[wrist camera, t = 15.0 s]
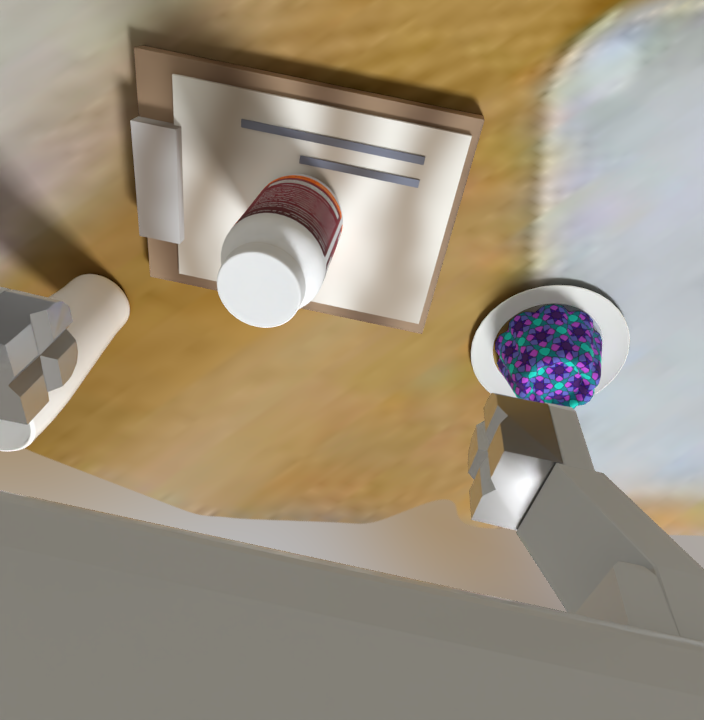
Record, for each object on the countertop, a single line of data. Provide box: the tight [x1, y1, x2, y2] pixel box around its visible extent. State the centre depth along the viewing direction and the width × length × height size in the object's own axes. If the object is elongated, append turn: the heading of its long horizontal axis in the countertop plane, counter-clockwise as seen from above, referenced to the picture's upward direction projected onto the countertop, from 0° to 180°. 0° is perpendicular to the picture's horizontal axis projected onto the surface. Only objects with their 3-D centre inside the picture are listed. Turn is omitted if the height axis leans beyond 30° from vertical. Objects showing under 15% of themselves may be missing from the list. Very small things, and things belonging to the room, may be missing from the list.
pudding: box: [471, 285, 630, 409], centre depth 41 cm, size 12×12×5 cm
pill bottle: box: [217, 174, 343, 328], centre depth 33 cm, size 6×6×11 cm
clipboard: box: [130, 45, 484, 334], centre depth 38 cm, size 22×16×2 cm
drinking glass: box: [0, 274, 130, 451], centre depth 40 cm, size 7×7×15 cm
